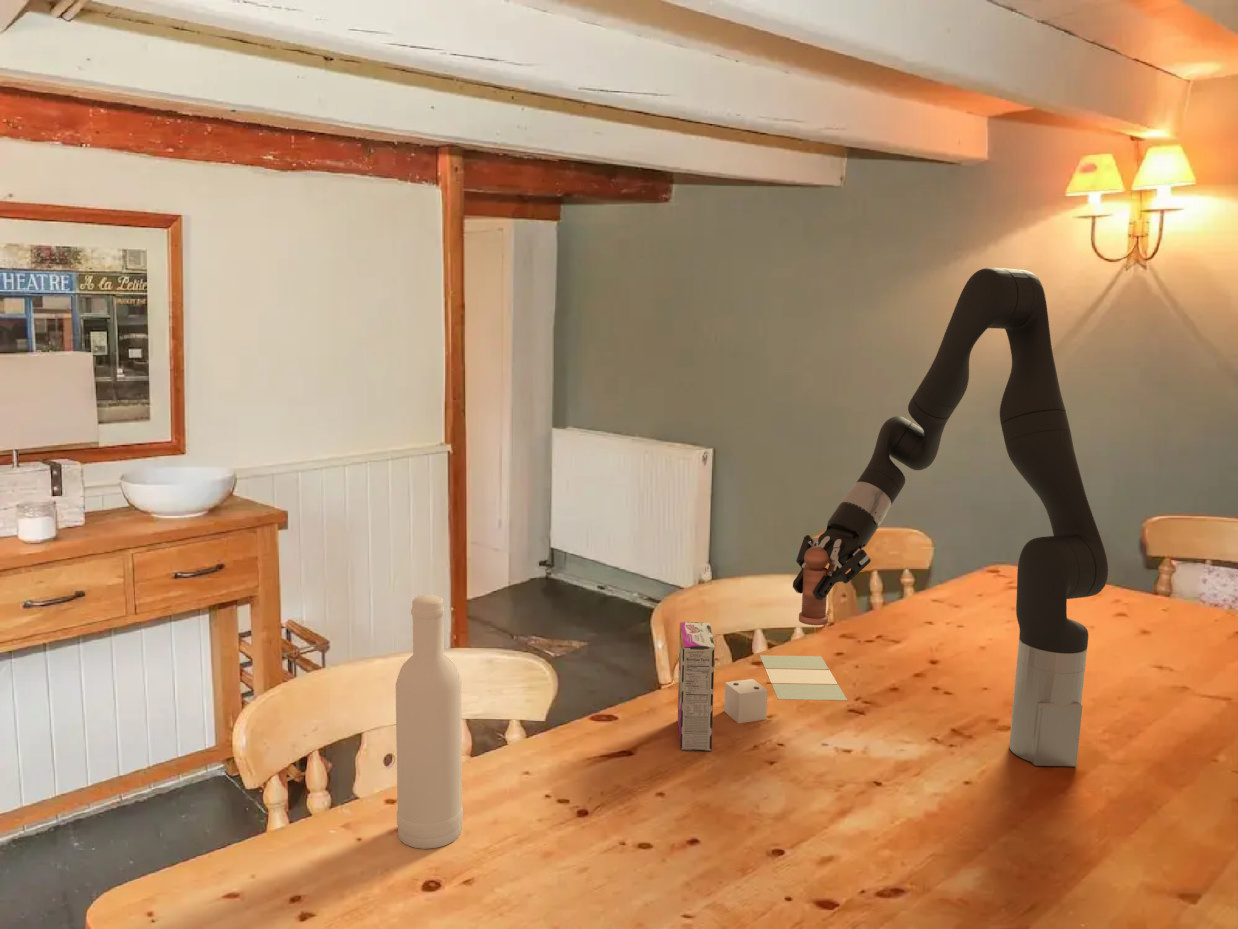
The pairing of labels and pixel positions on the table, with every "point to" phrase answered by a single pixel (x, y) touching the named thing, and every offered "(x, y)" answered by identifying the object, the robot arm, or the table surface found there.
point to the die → (745, 701)
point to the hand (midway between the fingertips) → (806, 593)
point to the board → (801, 678)
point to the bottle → (429, 735)
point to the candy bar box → (695, 686)
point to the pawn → (813, 587)
